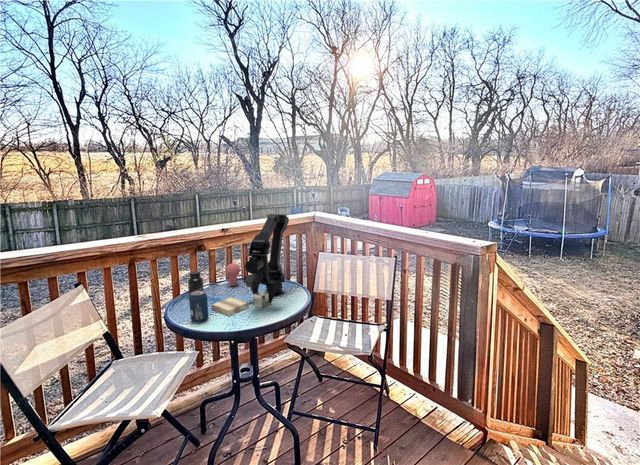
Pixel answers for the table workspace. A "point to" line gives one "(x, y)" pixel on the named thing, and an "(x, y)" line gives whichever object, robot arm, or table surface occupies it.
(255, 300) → the block
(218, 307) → the thin beige square tile
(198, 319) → the soda can
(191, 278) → the supplement bottle
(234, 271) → the light bulb
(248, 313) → the table surface
